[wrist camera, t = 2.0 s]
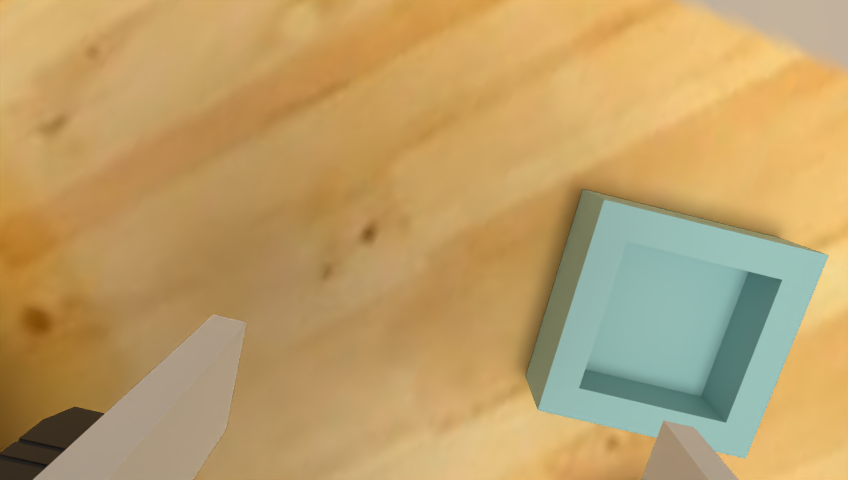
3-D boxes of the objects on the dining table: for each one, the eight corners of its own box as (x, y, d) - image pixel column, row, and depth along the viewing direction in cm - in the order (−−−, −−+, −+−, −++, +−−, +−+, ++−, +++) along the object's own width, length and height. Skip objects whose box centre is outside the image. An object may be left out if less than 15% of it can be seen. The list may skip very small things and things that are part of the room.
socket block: (525, 376, 30) (537, 410, 26) (582, 188, 28) (604, 199, 24) (710, 419, 30) (745, 458, 27) (780, 238, 28) (828, 255, 25)
